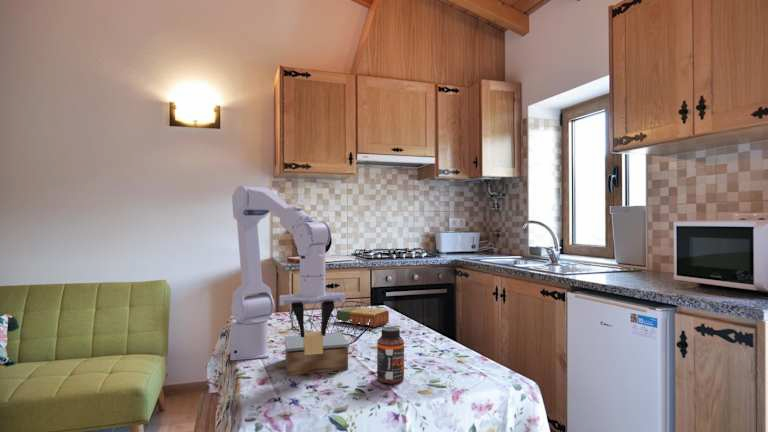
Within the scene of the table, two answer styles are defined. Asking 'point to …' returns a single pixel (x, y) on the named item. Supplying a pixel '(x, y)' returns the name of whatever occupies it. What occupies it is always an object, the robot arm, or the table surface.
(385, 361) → the supplement bottle
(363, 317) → the carton
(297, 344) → the lid
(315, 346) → the block
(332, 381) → the table surface
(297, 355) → the box
